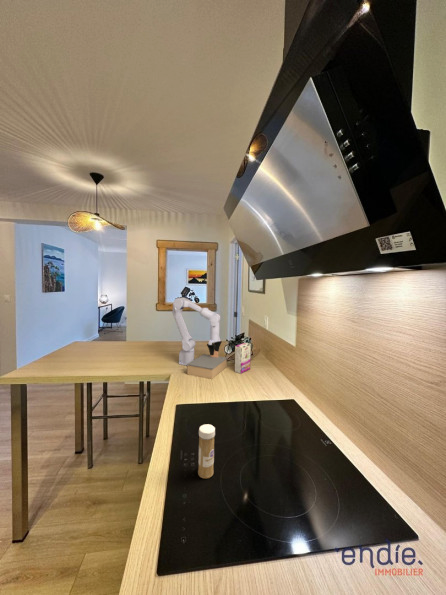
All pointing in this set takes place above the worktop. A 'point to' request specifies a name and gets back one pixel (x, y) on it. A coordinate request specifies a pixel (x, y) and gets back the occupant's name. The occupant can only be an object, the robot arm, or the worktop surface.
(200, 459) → the sprinkles bottle
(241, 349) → the candy bar box
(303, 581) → the worktop surface
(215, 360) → the carton lid
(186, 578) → the worktop surface
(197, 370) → the carton
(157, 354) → the worktop surface
